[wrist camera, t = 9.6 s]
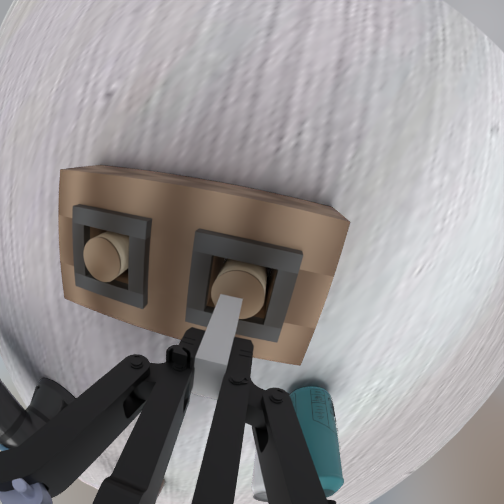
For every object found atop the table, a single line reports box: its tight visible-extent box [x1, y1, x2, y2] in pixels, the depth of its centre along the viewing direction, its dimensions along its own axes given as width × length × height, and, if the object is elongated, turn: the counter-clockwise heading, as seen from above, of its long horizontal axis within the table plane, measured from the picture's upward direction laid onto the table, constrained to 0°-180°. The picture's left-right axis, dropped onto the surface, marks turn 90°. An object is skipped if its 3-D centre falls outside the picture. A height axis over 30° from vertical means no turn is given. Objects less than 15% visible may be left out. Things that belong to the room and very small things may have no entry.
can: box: [252, 449, 268, 502], centre depth 33 cm, size 6×6×12 cm
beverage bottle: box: [289, 386, 344, 504], centre depth 24 cm, size 6×7×20 cm
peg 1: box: [83, 231, 129, 282], centre depth 24 cm, size 4×4×8 cm
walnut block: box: [59, 165, 350, 366], centre depth 25 cm, size 26×14×8 cm, turn 79°
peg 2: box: [211, 258, 268, 319], centre depth 24 cm, size 4×4×8 cm
